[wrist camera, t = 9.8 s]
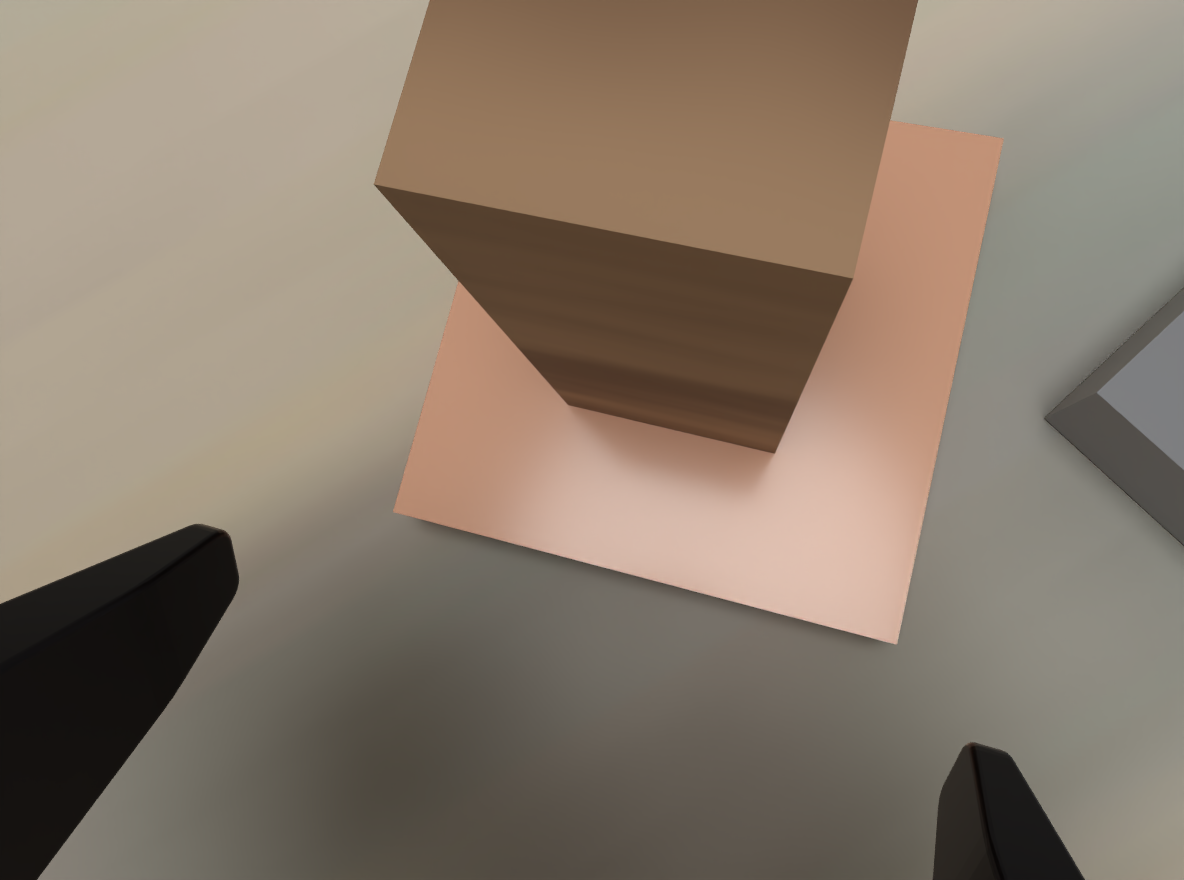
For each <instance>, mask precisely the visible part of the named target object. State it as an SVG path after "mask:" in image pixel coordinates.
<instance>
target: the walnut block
mask: <svg viewBox="0 0 1184 880" xmlns="http://www.w3.org/2000/svg"><path fill="white" fill-rule="evenodd" d="M917 3H918V0H430V2H429V5H428V8H427V11H426V15H425V18H424V21H423V25H422V28H421V31H420V34H419V38H418V41H417V44H416V48H415V51H414V54H413V57H412V61H411V64H410V67H409V71H408V74H407V77H406V80H405V84H404V87H403V90H402V93H401V97H400V100H399V103H398V107H397V110H396V113H395V116H394V120H393V123H392V126H391V130H390V133H389V136H388V139H387V143H386V146H385V149H384V153H383V156H382V159H381V162H380V166H379V169H378V172H377V176H376V179H375V182H374V185H375V186H376V187H377V188H378V190H379V191H380V192H381V193H382V194H383V195H384V196H385V198H386V199H387V200H388V201H389V202H390V203H391V204H392V206H393V207H394V208H395V209H396V210H397V211H398V212H399V213H400V215H401V216H402V217H403V218H404V219H405V220H406V221H407V223H408V224H409V225H410V226H411V227H412V228H413V229H414V231H415V232H416V233H417V234H418V235H419V236H420V237H421V238H422V240H423V241H424V242H425V243H426V244H427V245H428V246H429V248H430V249H431V250H432V251H433V252H434V253H435V254H436V256H437V257H438V258H439V259H440V260H441V261H442V262H443V263H444V265H445V266H446V267H447V268H448V269H449V270H450V271H451V273H452V274H453V275H454V276H455V277H456V278H457V279H458V281H459V282H460V283H461V284H462V285H463V286H464V287H465V289H466V290H467V291H468V292H469V293H470V294H471V295H472V296H473V298H474V299H475V300H476V301H477V302H478V303H479V304H480V306H481V307H482V308H483V309H484V310H485V311H486V312H487V314H488V315H489V316H490V317H491V318H492V319H493V320H494V321H495V323H496V324H497V325H498V326H499V327H500V328H501V329H502V331H503V332H504V333H505V334H506V335H507V336H508V337H509V339H510V340H511V341H512V342H513V343H514V344H515V345H516V346H517V348H518V349H519V350H520V351H521V352H522V353H523V354H524V356H525V357H526V358H527V359H528V360H529V361H530V362H531V364H532V365H533V366H534V367H535V368H536V369H537V370H538V371H539V373H540V374H541V375H542V376H543V377H544V378H545V379H546V381H547V382H548V383H549V384H550V385H551V386H552V387H553V389H554V390H555V391H556V392H557V393H558V394H559V395H560V397H561V398H562V399H563V400H564V401H565V402H566V403H567V404H568V405H570V406H574V407H578V408H583V409H587V410H591V411H595V412H599V413H604V414H608V415H612V416H616V417H621V418H625V419H629V420H633V421H638V422H642V423H646V424H650V425H655V426H659V427H663V428H667V429H672V430H676V431H680V432H684V433H689V434H693V435H697V436H701V437H706V438H710V439H714V440H718V441H723V442H727V443H731V444H735V445H740V446H744V447H748V448H752V449H757V450H761V451H765V452H769V453H774V454H775V452H776V450H777V448H778V445H779V443H780V441H781V439H782V437H783V434H784V432H785V430H786V428H787V425H788V423H789V421H790V419H791V416H792V414H793V412H794V410H795V407H796V405H797V403H798V401H799V399H800V396H801V394H802V392H803V390H804V387H805V385H806V383H807V381H808V378H809V376H810V374H811V372H812V369H813V367H814V365H815V363H816V361H817V358H818V356H819V354H820V352H821V349H822V347H823V345H824V343H825V340H826V338H827V336H828V334H829V331H830V329H831V327H832V325H833V323H834V320H835V318H836V316H837V314H838V311H839V309H840V307H841V305H842V302H843V300H844V298H845V296H846V293H847V291H848V289H849V287H850V285H851V282H852V280H853V277H854V273H855V269H856V264H857V260H858V256H859V252H860V247H861V243H862V239H863V234H864V230H865V226H866V221H867V217H868V213H869V209H870V204H871V200H872V196H873V191H874V187H875V183H876V179H877V174H878V170H879V166H880V161H881V157H882V153H883V149H884V144H885V140H886V136H887V131H888V127H889V123H890V118H891V114H892V110H893V106H894V101H895V97H896V93H897V88H898V84H899V80H900V76H901V71H902V67H903V63H904V58H905V54H906V50H907V46H908V41H909V37H910V33H911V28H912V24H913V20H914V16H915V11H916V7H917Z"/></svg>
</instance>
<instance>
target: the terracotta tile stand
mask: <svg viewBox="0 0 1184 880" xmlns="http://www.w3.org/2000/svg"><path fill="white" fill-rule="evenodd" d="M1003 140H1004V139H1003V138H997V137H991V136H984V135H978V134H972V133H966V132H959V131H953V130H947V129H941V128H934V127H928V126H922V125H915V124H909V123H903V122H897V121H890V123H889V127H888V131H887V136H886V140H885V144H884V149H883V153H882V157H881V161H880V166H879V170H878V174H877V179H876V183H875V187H874V191H873V196H872V200H871V204H870V209H869V213H868V217H867V221H866V226H865V230H864V234H863V239H862V243H861V247H860V252H859V256H858V260H857V264H856V269H855V273H854V277H853V280H852V282H851V285H850V287H849V289H848V291H847V293H846V296H845V298H844V300H843V302H842V305H841V307H840V309H839V311H838V314H837V316H836V318H835V320H834V323H833V325H832V327H831V329H830V331H829V334H828V336H827V338H826V340H825V343H824V345H823V347H822V349H821V352H820V354H819V356H818V358H817V361H816V363H815V365H814V367H813V369H812V372H811V374H810V376H809V378H808V381H807V383H806V385H805V387H804V390H803V392H802V394H801V396H800V399H799V401H798V403H797V405H796V407H795V410H794V412H793V414H792V416H791V419H790V421H789V423H788V425H787V428H786V430H785V432H784V434H783V437H782V439H781V441H780V443H779V445H778V448H777V450H776V452H775V454H774V453H769V452H765V451H761V450H757V449H752V448H748V447H744V446H740V445H735V444H731V443H727V442H723V441H718V440H714V439H710V438H706V437H701V436H697V435H693V434H689V433H684V432H680V431H676V430H672V429H667V428H663V427H659V426H655V425H650V424H646V423H642V422H638V421H633V420H629V419H625V418H621V417H616V416H612V415H608V414H604V413H599V412H595V411H591V410H587V409H583V408H578V407H574V406H570V405H568V404H567V403H566V402H565V401H564V400H563V399H562V398H561V397H560V395H559V394H558V393H557V392H556V391H555V390H554V389H553V387H552V386H551V385H550V384H549V383H548V382H547V381H546V379H545V378H544V377H543V376H542V375H541V374H540V373H539V371H538V370H537V369H536V368H535V367H534V366H533V365H532V364H531V362H530V361H529V360H528V359H527V358H526V357H525V356H524V354H523V353H522V352H521V351H520V350H519V349H518V348H517V346H516V345H515V344H514V343H513V342H512V341H511V340H510V339H509V337H508V336H507V335H506V334H505V333H504V332H503V331H502V329H501V328H500V327H499V326H498V325H497V324H496V323H495V321H494V320H493V319H492V318H491V317H490V316H489V315H488V314H487V312H486V311H485V310H484V309H483V308H482V307H481V306H480V304H479V303H478V302H477V301H476V300H475V299H474V298H473V296H472V295H471V294H470V293H469V292H468V291H467V290H466V289H465V287H464V286H463V285H462V284H461V283H460V282H459V281H458V285H457V288H456V292H455V295H454V299H453V303H452V306H451V310H450V313H449V317H448V320H447V324H446V327H445V331H444V334H443V338H442V341H441V345H440V348H439V352H438V355H437V359H436V362H435V366H434V369H433V373H432V376H431V380H430V384H429V387H428V391H427V394H426V398H425V401H424V405H423V408H422V412H421V415H420V419H419V422H418V426H417V429H416V433H415V436H414V440H413V443H412V447H411V450H410V454H409V457H408V461H407V465H406V468H405V472H404V475H403V479H402V482H401V486H400V489H399V493H398V496H397V500H396V503H395V507H394V510H393V512H395V513H399V514H403V515H407V516H411V517H414V518H418V519H422V520H426V521H430V522H433V523H437V524H441V525H445V526H449V527H452V528H456V529H460V530H464V531H468V532H471V533H475V534H479V535H483V536H487V537H490V538H494V539H498V540H502V541H505V542H509V543H513V544H517V545H521V546H524V547H528V548H532V549H536V550H540V551H543V552H547V553H551V554H555V555H559V556H562V557H566V558H570V559H574V560H578V561H581V562H585V563H589V564H593V565H597V566H600V567H604V568H608V569H612V570H616V571H619V572H623V573H627V574H631V575H634V576H638V577H642V578H646V579H650V580H653V581H657V582H661V583H665V584H669V585H672V586H676V587H680V588H684V589H688V590H691V591H695V592H699V593H703V594H707V595H710V596H714V597H718V598H722V599H726V600H729V601H733V602H737V603H741V604H745V605H748V606H752V607H756V608H760V609H763V610H767V611H771V612H775V613H779V614H782V615H786V616H790V617H794V618H798V619H801V620H805V621H809V622H813V623H817V624H820V625H824V626H828V627H832V628H836V629H839V630H843V631H847V632H851V633H855V634H858V635H862V636H866V637H870V638H874V639H877V640H881V641H885V642H889V643H892V644H896V645H897V642H898V637H899V632H900V627H901V623H902V618H903V613H904V608H905V604H906V599H907V594H908V589H909V585H910V580H911V575H912V570H913V566H914V561H915V556H916V552H917V547H918V542H919V537H920V533H921V528H922V523H923V518H924V514H925V509H926V504H927V499H928V495H929V490H930V485H931V481H932V476H933V471H934V466H935V462H936V457H937V452H938V447H939V443H940V438H941V433H942V428H943V424H944V419H945V414H946V410H947V405H948V400H949V395H950V391H951V386H952V381H953V376H954V372H955V367H956V362H957V357H958V353H959V348H960V343H961V338H962V334H963V329H964V324H965V320H966V315H967V310H968V305H969V301H970V296H971V291H972V286H973V282H974V277H975V272H976V267H977V263H978V258H979V253H980V249H981V244H982V239H983V234H984V230H985V225H986V220H987V215H988V211H989V206H990V201H991V196H992V192H993V187H994V182H995V178H996V173H997V168H998V163H999V159H1000V154H1001V149H1002V144H1003Z"/></svg>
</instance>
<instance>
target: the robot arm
mask: <svg viewBox="0 0 1184 880" xmlns="http://www.w3.org/2000/svg"><path fill="white" fill-rule="evenodd" d="M238 584H239V574H238V569H237V565H236V560H235V555H234V550H233V546H232V541H231V538H230V536H229V534H228V533H227V532H226V531H224V530H222V529H218V528H215V527H211V526H207V525H204V524H193V525H190V526H188V527H185V528H183V529H180V530H178V531H176V532H173V533H171V534H168V535H166V536H163V537H161V538H159V539H156V540H154V541H151V542H149V543H146V544H144V545H142V546H139V547H137V548H134V549H132V550H130V551H127V552H125V553H122V554H120V555H117V556H115V557H113V558H110V559H108V560H105V561H103V562H101V563H98V564H96V565H93V566H91V567H88V568H86V569H84V570H81V571H79V572H76V573H74V574H71V575H69V576H67V577H64V578H62V579H59V580H57V581H55V582H52V583H50V584H47V585H45V586H42V587H40V588H38V589H35V590H33V591H30V592H28V593H25V594H23V595H21V596H18V597H16V598H13V599H11V600H9V601H6V602H4V603H1V604H0V880H37V879H38V878H39V876H40V875H41V874H42V872H43V871H44V870H45V868H46V867H47V866H48V864H49V863H50V862H51V860H52V859H53V858H54V856H55V855H56V854H57V852H58V851H59V850H60V848H61V847H62V846H63V844H64V843H65V842H66V840H67V839H68V838H69V836H70V835H71V834H72V832H73V831H74V830H75V828H76V827H77V826H78V824H79V823H80V822H81V820H82V819H83V817H84V816H85V815H86V813H87V812H88V811H89V809H90V808H91V807H92V805H93V804H94V803H95V801H96V800H97V799H98V797H99V796H100V795H101V793H102V792H103V791H104V789H105V788H106V787H107V785H108V784H109V783H110V781H111V780H112V779H113V777H114V776H115V775H116V773H117V772H118V771H119V769H120V768H121V767H122V765H123V764H124V763H125V761H126V760H127V759H128V757H129V756H130V755H131V753H132V752H133V751H134V749H135V748H136V747H137V745H138V744H139V743H140V741H141V740H142V739H143V737H144V736H145V735H146V733H147V732H148V731H149V729H150V728H151V727H152V725H153V724H154V723H155V721H156V720H157V719H158V717H159V716H160V715H161V713H162V712H163V711H164V709H165V708H166V706H167V705H168V703H169V702H170V701H171V699H172V698H173V696H174V695H175V693H176V692H177V690H178V689H179V687H180V686H181V684H182V683H183V681H184V679H185V678H186V676H187V674H188V673H189V671H190V669H191V668H192V666H193V664H194V663H195V661H196V659H197V658H198V656H199V654H200V653H201V651H202V650H203V648H204V646H205V645H206V643H207V641H208V640H209V638H210V636H211V635H212V633H213V631H214V630H215V628H216V626H217V625H218V623H219V621H220V620H221V618H222V616H223V615H224V613H225V611H226V610H227V608H228V606H229V605H230V603H231V601H232V600H233V598H234V596H235V594H236V591H237V588H238ZM933 880H1085V879H1084V877H1083V876H1082V874H1081V872H1080V871H1079V869H1078V867H1077V866H1076V864H1075V862H1074V861H1073V859H1072V857H1071V856H1070V854H1069V852H1068V851H1067V849H1066V847H1065V845H1064V844H1063V842H1062V840H1061V839H1060V837H1059V835H1058V834H1057V832H1056V830H1055V829H1054V827H1053V825H1052V824H1051V822H1050V820H1049V819H1048V817H1047V815H1046V814H1045V812H1044V810H1043V809H1042V807H1041V805H1040V804H1039V802H1038V800H1037V799H1036V797H1035V795H1034V794H1033V792H1032V790H1031V789H1030V787H1029V785H1028V784H1027V782H1026V780H1025V779H1024V777H1023V775H1022V773H1021V772H1020V770H1019V768H1018V767H1017V765H1016V763H1015V762H1014V760H1013V759H1012V757H1011V756H1010V755H1009V754H1008V753H1006V752H1005V751H1002V750H999V749H996V748H992V747H989V746H985V745H981V744H978V743H974V742H970V743H967V744H966V745H965V746H964V747H963V749H962V750H961V752H960V754H959V756H958V758H957V760H956V762H955V764H954V766H953V768H952V769H951V771H950V773H949V775H948V777H947V779H946V781H945V783H944V785H943V787H942V790H941V794H940V798H939V805H938V817H937V830H936V844H935V858H934V872H933Z"/></svg>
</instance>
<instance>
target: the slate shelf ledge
mask: <svg viewBox="0 0 1184 880" xmlns="http://www.w3.org/2000/svg"><path fill="white" fill-rule="evenodd" d="M1045 419H1046V420H1047V421H1048V422H1049V423H1050V424H1051V425H1052V426H1054V427H1055V428H1056V429H1057V430H1058V431H1059V432H1060V433H1061V434H1062V435H1063V436H1065V437H1066V438H1067V439H1068V440H1069V441H1070V442H1071V443H1072V444H1073V445H1074V446H1075V447H1077V448H1078V449H1079V450H1080V451H1081V452H1082V453H1083V454H1084V455H1085V456H1086V457H1088V458H1089V459H1090V460H1091V461H1092V462H1093V463H1094V464H1095V465H1096V466H1097V467H1098V468H1100V469H1101V470H1102V471H1103V472H1104V473H1105V474H1106V475H1107V476H1108V477H1109V478H1111V479H1112V480H1113V481H1114V482H1115V483H1116V484H1117V485H1118V486H1119V487H1120V488H1122V489H1123V490H1124V491H1125V492H1126V493H1127V494H1128V495H1129V496H1130V497H1131V498H1132V499H1134V500H1135V501H1136V502H1137V503H1138V504H1139V505H1140V506H1141V507H1142V508H1143V509H1145V510H1146V511H1147V512H1148V513H1149V514H1150V515H1151V516H1152V517H1153V518H1154V519H1156V520H1157V521H1158V522H1159V523H1160V524H1161V525H1162V526H1163V527H1164V528H1165V529H1166V530H1168V531H1169V532H1170V533H1171V534H1172V535H1173V536H1174V537H1175V538H1176V539H1177V540H1179V541H1180V542H1181V543H1182V544H1183V545H1184V288H1183V289H1182V290H1181V291H1180V292H1179V293H1178V294H1177V295H1175V296H1174V297H1173V298H1172V299H1171V300H1170V301H1169V302H1168V303H1167V304H1166V305H1165V306H1164V307H1163V308H1162V309H1161V310H1159V311H1158V312H1157V313H1156V314H1155V315H1154V316H1153V317H1152V318H1151V319H1150V320H1149V321H1148V322H1147V323H1146V324H1144V325H1143V326H1142V327H1141V328H1140V329H1139V330H1138V331H1137V332H1136V333H1135V334H1134V335H1133V336H1132V337H1131V338H1129V339H1128V340H1127V341H1126V342H1125V343H1124V344H1123V345H1122V346H1121V347H1120V348H1119V349H1118V350H1117V351H1116V352H1115V353H1113V354H1112V355H1111V356H1110V357H1109V358H1108V359H1107V360H1106V361H1105V362H1104V363H1103V364H1102V365H1101V366H1100V367H1098V368H1097V369H1096V370H1095V371H1094V372H1093V373H1092V374H1091V375H1090V376H1089V377H1088V378H1087V379H1086V380H1085V381H1083V382H1082V383H1081V384H1080V385H1079V386H1078V387H1077V388H1076V389H1075V390H1074V391H1073V392H1072V393H1071V394H1070V395H1069V396H1067V397H1066V398H1065V399H1064V400H1063V401H1062V402H1061V403H1060V404H1059V405H1058V406H1057V407H1056V408H1055V409H1054V410H1052V411H1051V412H1050V413H1049V414H1048V415H1047V416H1046V417H1045Z"/></svg>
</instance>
